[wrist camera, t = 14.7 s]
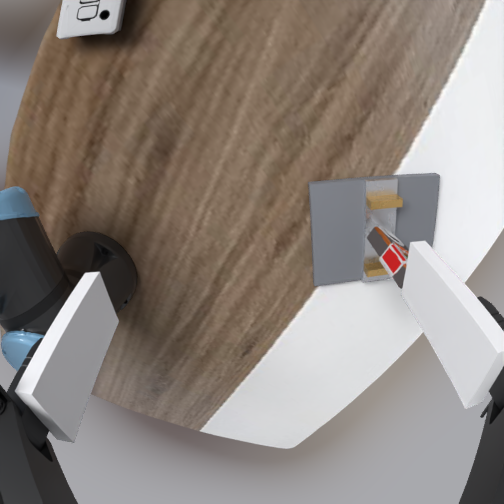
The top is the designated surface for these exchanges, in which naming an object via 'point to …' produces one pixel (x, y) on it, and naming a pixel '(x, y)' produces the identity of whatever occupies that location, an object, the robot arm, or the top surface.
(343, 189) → the panel
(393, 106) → the top surface
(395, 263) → the electronic device
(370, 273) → the rail
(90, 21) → the electrical switch
